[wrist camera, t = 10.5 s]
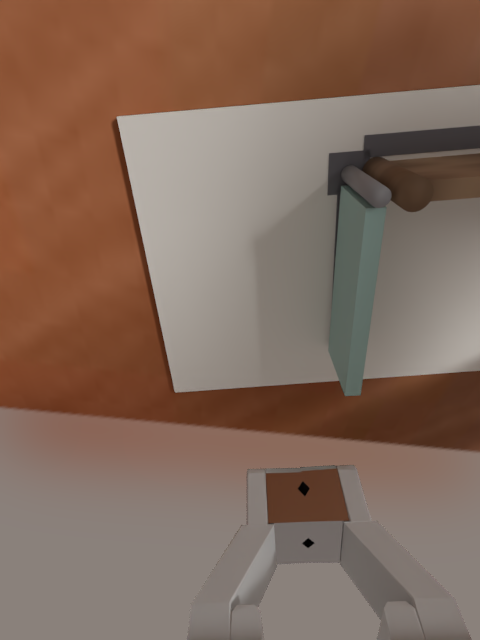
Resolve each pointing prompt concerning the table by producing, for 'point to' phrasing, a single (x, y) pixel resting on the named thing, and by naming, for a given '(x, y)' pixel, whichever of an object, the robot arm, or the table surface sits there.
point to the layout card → (301, 236)
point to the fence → (427, 179)
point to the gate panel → (355, 274)
